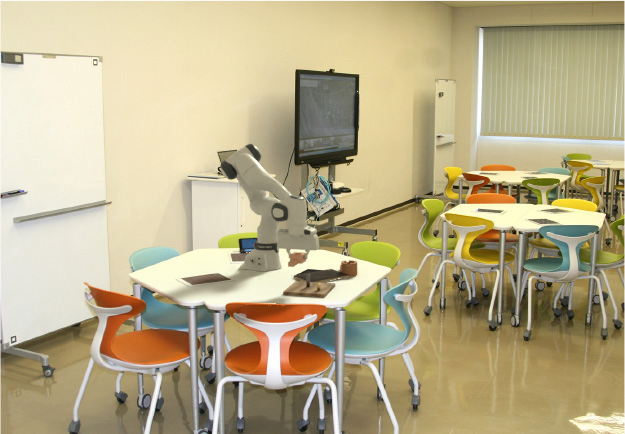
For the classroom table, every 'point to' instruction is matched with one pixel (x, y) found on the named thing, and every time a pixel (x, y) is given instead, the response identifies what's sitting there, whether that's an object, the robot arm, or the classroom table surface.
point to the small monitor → (247, 244)
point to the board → (309, 289)
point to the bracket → (349, 268)
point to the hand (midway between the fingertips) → (298, 258)
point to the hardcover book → (322, 276)
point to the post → (307, 280)
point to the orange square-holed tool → (296, 259)
